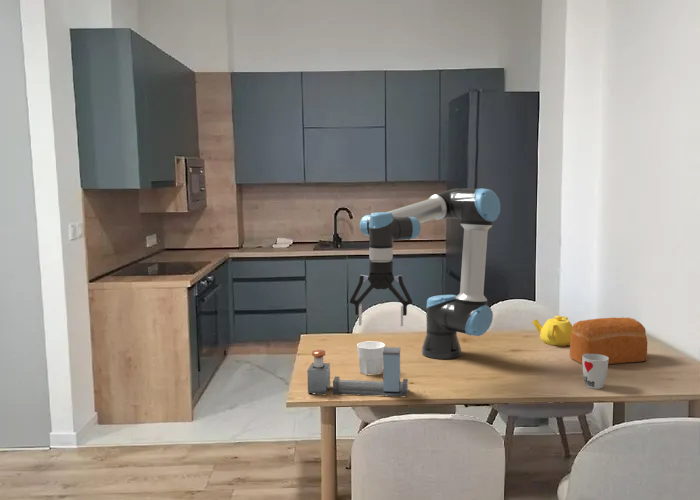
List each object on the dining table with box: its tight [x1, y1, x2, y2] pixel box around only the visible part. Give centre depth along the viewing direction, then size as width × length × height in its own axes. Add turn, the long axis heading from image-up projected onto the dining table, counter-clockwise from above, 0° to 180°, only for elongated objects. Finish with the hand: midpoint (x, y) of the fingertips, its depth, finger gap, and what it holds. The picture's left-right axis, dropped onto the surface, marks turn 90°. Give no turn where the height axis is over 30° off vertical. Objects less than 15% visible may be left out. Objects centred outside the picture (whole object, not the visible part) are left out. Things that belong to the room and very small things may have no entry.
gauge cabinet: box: [307, 362, 331, 395], centre depth 213 cm, size 6×8×8 cm
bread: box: [569, 317, 648, 365], centre depth 242 cm, size 14×26×16 cm, turn 102°
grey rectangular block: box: [382, 346, 401, 392], centre depth 209 cm, size 5×6×13 cm
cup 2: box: [582, 354, 609, 390], centre depth 213 cm, size 8×8×10 cm
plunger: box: [311, 349, 326, 368], centre depth 212 cm, size 4×4×9 cm
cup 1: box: [356, 340, 386, 376], centre depth 231 cm, size 10×10×10 cm
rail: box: [331, 376, 409, 398], centre depth 211 cm, size 24×7×4 cm, turn 82°
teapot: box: [531, 315, 573, 347], centre depth 268 cm, size 20×18×11 cm
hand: (381, 325), depth 211 cm, fingers open, 13 cm apart
